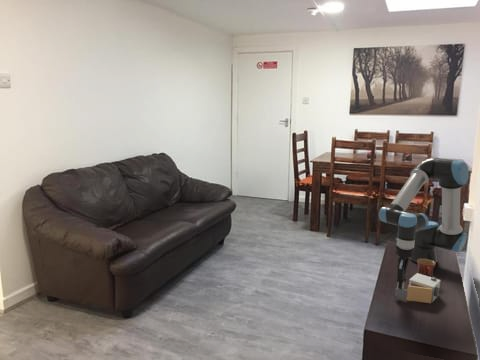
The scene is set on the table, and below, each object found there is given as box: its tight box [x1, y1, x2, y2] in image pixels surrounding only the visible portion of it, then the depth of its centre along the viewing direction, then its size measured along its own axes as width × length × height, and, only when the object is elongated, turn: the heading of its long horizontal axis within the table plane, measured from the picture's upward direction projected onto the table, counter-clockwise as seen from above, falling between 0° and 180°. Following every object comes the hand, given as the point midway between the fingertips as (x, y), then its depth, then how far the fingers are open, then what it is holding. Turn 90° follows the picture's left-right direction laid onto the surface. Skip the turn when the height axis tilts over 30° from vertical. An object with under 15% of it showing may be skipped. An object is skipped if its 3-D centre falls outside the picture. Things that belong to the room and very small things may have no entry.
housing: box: [408, 272, 442, 302], centre depth 190 cm, size 10×12×9 cm
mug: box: [416, 259, 436, 277], centre depth 205 cm, size 12×9×10 cm
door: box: [394, 285, 434, 304], centre depth 185 cm, size 1×16×8 cm, turn 75°
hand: (399, 293), depth 188 cm, fingers closed
